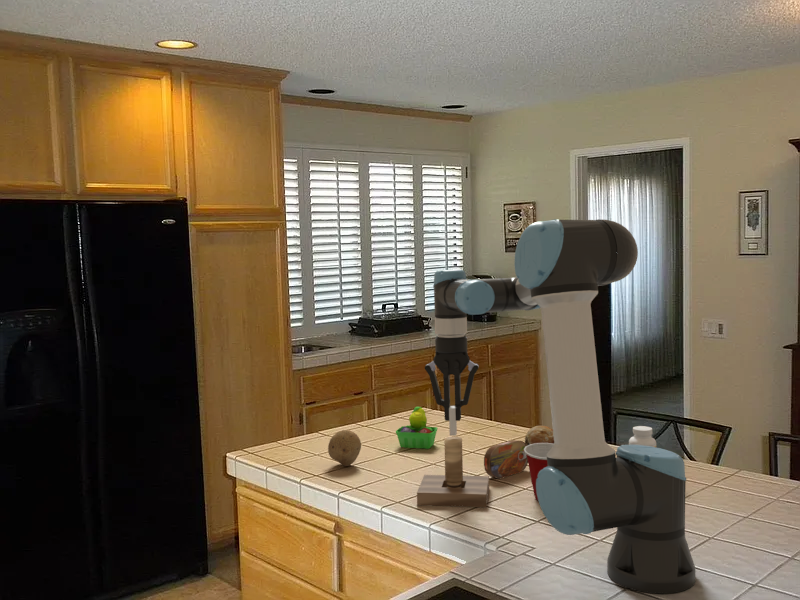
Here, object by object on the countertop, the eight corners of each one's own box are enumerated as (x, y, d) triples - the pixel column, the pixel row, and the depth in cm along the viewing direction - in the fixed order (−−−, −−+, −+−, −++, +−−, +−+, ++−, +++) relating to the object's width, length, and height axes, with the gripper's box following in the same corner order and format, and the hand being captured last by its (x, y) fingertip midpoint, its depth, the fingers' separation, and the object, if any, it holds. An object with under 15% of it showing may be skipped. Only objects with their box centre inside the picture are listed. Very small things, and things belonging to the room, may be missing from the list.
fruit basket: (395, 448, 234) (394, 410, 233) (403, 441, 242) (402, 404, 241) (432, 450, 230) (431, 412, 229) (439, 442, 239) (438, 406, 238)
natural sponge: (346, 472, 210) (345, 436, 209) (321, 467, 215) (320, 431, 214) (368, 464, 217) (367, 429, 216) (343, 459, 222) (342, 425, 222)
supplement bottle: (626, 480, 198) (626, 429, 197) (631, 473, 203) (631, 424, 202) (653, 483, 194) (653, 432, 194) (658, 476, 200) (658, 426, 199)
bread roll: (523, 456, 235) (513, 433, 233) (549, 437, 239) (539, 415, 237) (543, 464, 226) (532, 440, 224) (569, 444, 230) (559, 421, 228)
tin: (490, 481, 199) (490, 449, 199) (481, 479, 202) (481, 446, 201) (530, 469, 209) (530, 438, 208) (521, 467, 211) (521, 436, 211)
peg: (462, 499, 186) (461, 441, 185) (444, 499, 187) (443, 440, 186) (463, 493, 190) (462, 436, 189) (446, 493, 191) (445, 436, 190)
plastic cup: (536, 509, 178) (535, 456, 177) (517, 494, 189) (516, 445, 188) (579, 503, 181) (579, 452, 180) (558, 489, 192) (557, 441, 191)
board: (486, 507, 180) (486, 494, 180) (417, 505, 183) (416, 492, 183) (489, 488, 194) (488, 476, 194) (424, 486, 197) (424, 474, 196)
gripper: (479, 333, 188) (481, 430, 190) (425, 333, 190) (427, 430, 192) (477, 337, 181) (479, 438, 182) (421, 337, 183) (424, 437, 185)
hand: (453, 434), depth 187 cm, fingers closed
